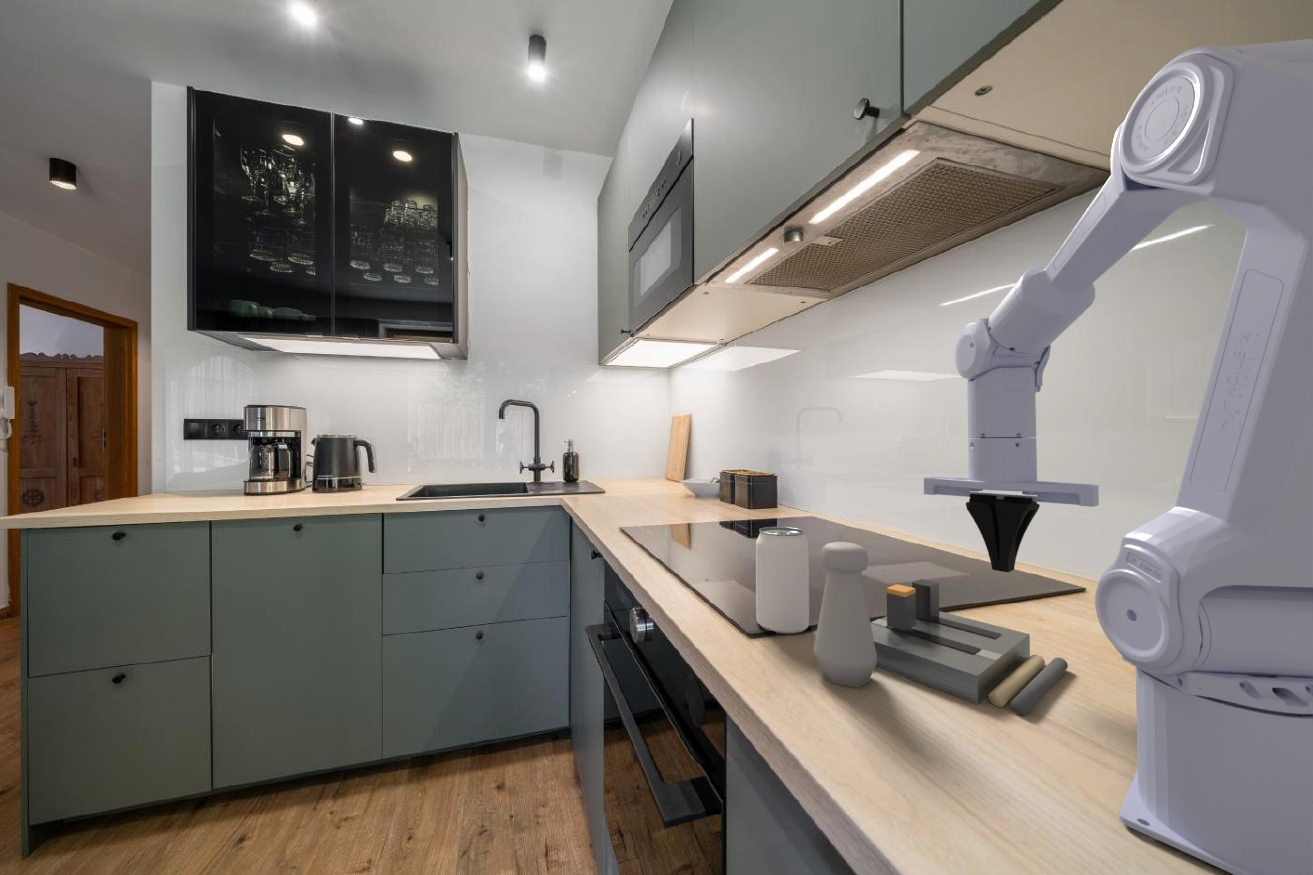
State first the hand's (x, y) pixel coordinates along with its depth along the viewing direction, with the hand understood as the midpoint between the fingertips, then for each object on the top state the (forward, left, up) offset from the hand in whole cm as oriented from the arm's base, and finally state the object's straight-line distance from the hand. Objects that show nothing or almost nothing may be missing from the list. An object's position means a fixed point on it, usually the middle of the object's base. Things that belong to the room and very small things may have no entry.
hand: (1003, 569), depth 48 cm
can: (+21, +9, -10) cm, 25 cm away
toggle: (+8, +5, -7) cm, 12 cm away
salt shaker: (+9, +15, -10) cm, 20 cm away
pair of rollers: (-3, +3, -10) cm, 11 cm away
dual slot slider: (+5, +3, -10) cm, 11 cm away
